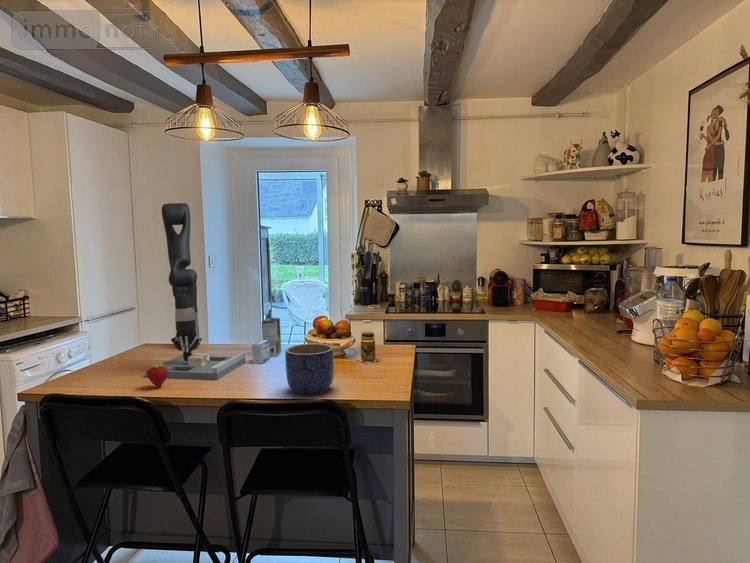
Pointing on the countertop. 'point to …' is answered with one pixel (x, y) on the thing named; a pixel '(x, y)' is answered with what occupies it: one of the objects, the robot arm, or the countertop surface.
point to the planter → (309, 367)
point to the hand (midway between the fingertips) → (187, 360)
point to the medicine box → (260, 352)
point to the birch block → (198, 359)
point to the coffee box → (272, 335)
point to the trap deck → (203, 367)
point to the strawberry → (157, 374)
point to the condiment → (368, 347)
